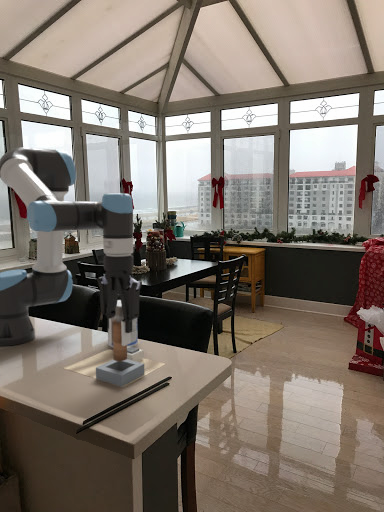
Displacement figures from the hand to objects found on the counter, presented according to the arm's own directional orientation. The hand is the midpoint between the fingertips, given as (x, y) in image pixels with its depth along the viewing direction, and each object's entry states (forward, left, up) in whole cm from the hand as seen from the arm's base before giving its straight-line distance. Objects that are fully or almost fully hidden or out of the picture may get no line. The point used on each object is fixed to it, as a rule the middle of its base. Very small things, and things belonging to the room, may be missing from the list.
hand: (120, 342), depth 108 cm
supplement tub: (-17, +20, -11) cm, 28 cm away
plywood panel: (-6, +5, -10) cm, 13 cm away
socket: (0, 0, -9) cm, 9 cm away
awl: (0, 0, -4) cm, 4 cm away
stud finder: (-6, +10, -9) cm, 15 cm away
